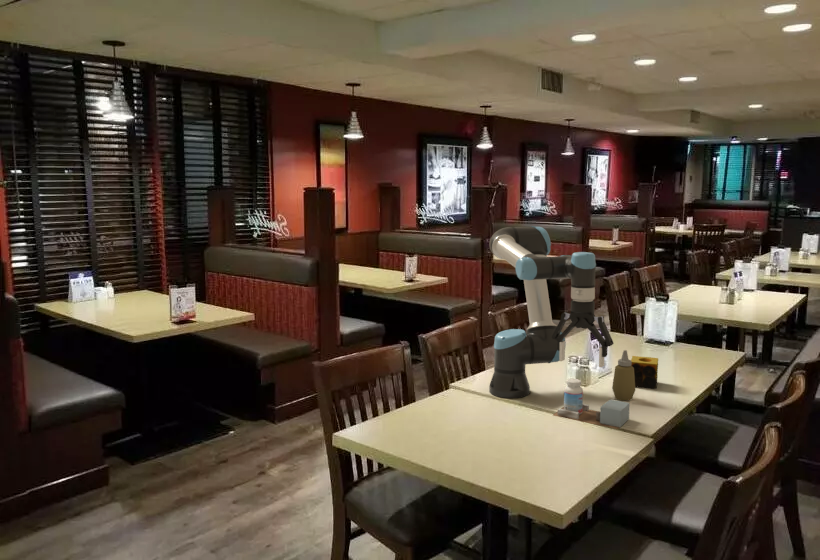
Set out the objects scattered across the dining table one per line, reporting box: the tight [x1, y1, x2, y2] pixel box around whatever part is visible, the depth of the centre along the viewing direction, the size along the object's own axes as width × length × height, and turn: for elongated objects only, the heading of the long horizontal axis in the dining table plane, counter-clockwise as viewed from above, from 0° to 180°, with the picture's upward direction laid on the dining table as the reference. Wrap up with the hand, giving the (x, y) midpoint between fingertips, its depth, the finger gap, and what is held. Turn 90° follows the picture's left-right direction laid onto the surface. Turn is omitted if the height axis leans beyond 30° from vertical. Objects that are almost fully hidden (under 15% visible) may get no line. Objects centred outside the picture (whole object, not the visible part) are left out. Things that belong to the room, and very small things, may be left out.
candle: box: [630, 355, 659, 390], centre depth 253 cm, size 10×10×10 cm
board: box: [552, 403, 620, 430], centre depth 216 cm, size 22×12×4 cm, turn 54°
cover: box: [599, 399, 630, 428], centre depth 211 cm, size 6×9×5 cm
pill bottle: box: [563, 378, 584, 415], centre depth 219 cm, size 6×6×11 cm
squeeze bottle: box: [611, 349, 636, 402], centre depth 236 cm, size 8×8×18 cm
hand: (581, 363), depth 215 cm, fingers open, 13 cm apart
